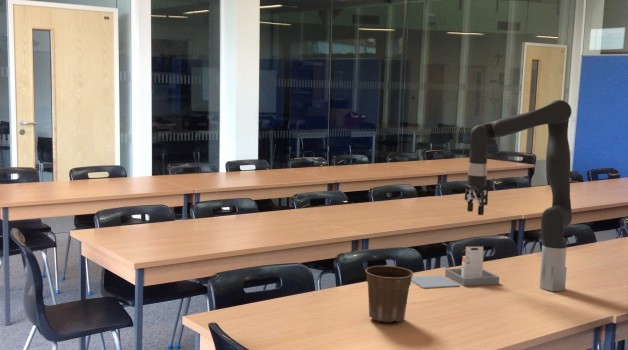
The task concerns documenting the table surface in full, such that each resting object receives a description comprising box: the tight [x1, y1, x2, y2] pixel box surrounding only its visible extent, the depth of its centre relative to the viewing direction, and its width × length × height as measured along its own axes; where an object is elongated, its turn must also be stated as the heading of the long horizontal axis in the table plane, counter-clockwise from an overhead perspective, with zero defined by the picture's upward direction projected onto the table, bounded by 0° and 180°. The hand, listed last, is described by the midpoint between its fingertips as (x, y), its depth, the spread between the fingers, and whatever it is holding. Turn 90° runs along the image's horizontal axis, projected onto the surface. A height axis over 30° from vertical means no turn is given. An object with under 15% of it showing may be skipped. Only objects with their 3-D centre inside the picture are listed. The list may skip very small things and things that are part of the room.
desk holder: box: [444, 267, 500, 287], centre depth 294 cm, size 16×16×3 cm
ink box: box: [461, 245, 484, 278], centre depth 293 cm, size 4×8×15 cm, turn 96°
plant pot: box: [365, 265, 414, 323], centre depth 241 cm, size 16×16×16 cm
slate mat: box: [411, 274, 460, 290], centre depth 289 cm, size 16×16×1 cm
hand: (475, 213), depth 291 cm, fingers open, 8 cm apart
